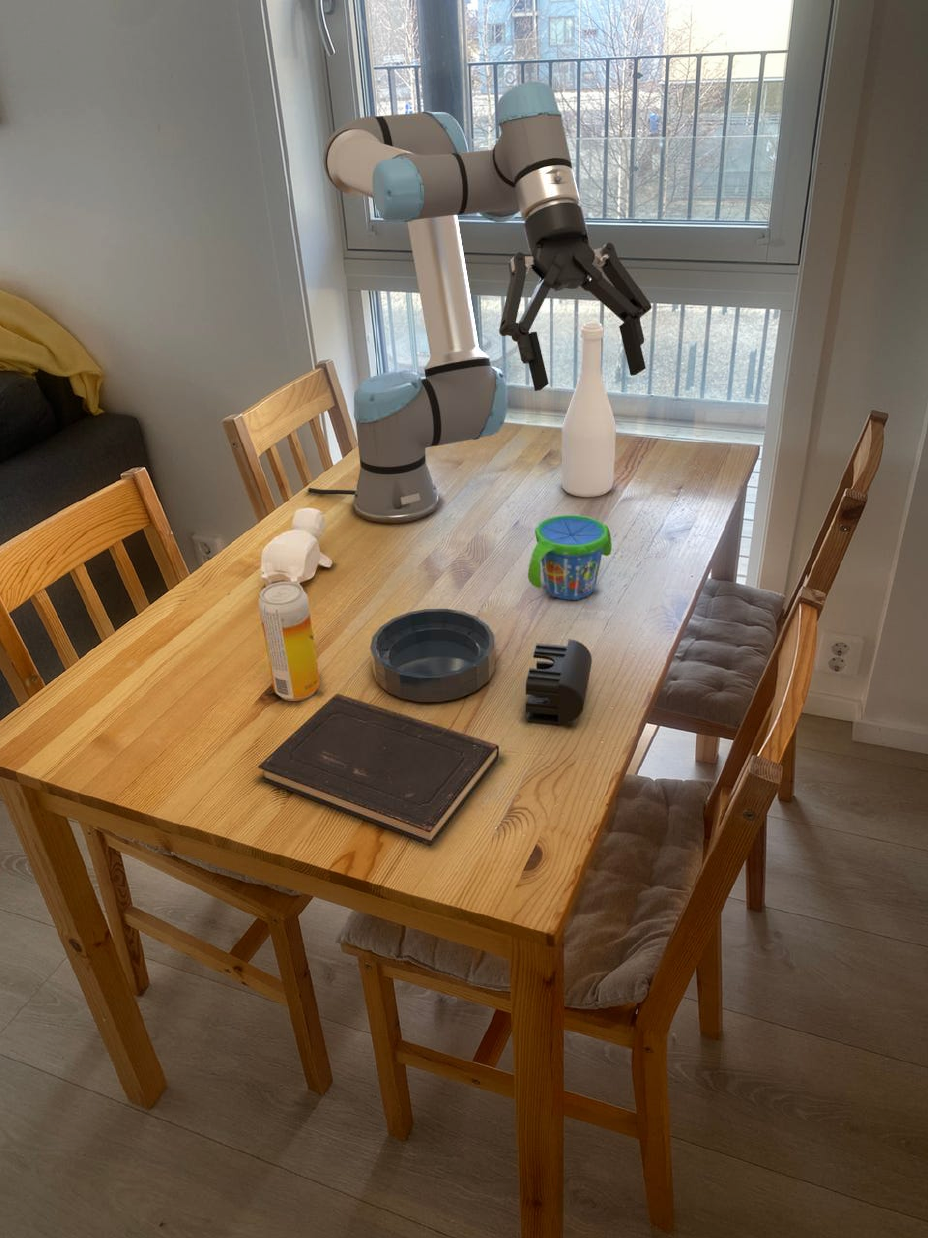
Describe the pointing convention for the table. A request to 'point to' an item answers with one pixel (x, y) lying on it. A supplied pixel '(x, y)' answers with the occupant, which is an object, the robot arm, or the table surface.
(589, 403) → the wine bottle
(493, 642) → the bowl
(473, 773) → the hardcover book
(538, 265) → the robot arm
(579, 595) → the snack cup
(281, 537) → the white animal figurine
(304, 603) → the beer can
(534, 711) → the end cap
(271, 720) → the table surface
